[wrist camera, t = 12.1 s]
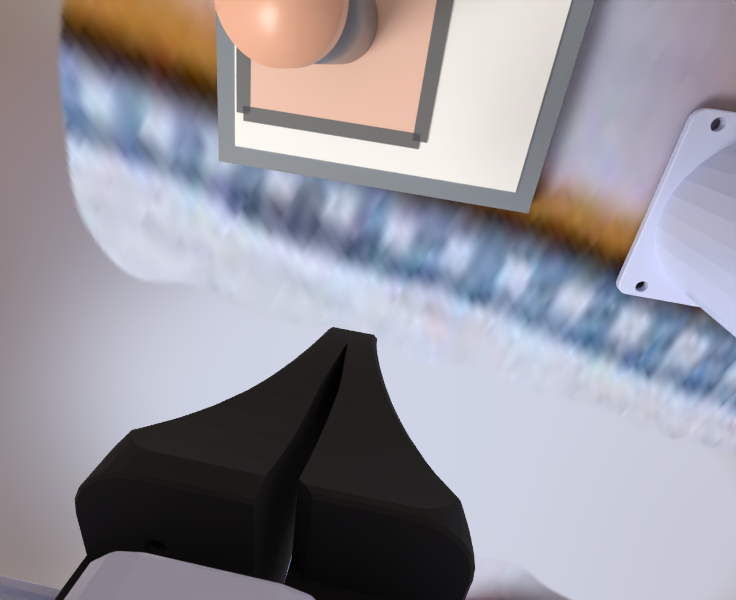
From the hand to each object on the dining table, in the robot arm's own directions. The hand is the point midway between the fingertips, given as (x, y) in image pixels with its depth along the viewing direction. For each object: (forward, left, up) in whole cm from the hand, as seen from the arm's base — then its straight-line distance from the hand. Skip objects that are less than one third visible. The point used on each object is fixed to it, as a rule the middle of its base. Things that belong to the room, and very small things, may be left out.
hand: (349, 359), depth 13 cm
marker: (+3, -9, -9) cm, 13 cm away
